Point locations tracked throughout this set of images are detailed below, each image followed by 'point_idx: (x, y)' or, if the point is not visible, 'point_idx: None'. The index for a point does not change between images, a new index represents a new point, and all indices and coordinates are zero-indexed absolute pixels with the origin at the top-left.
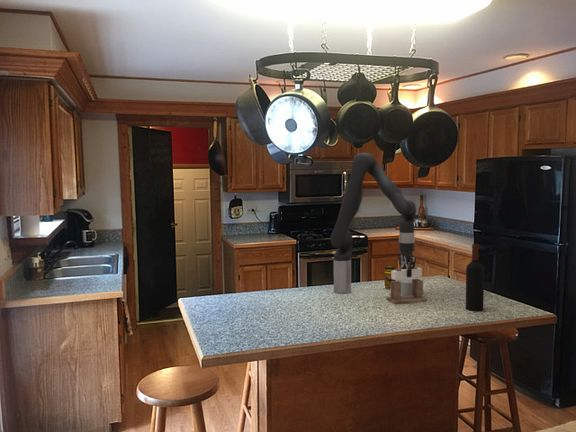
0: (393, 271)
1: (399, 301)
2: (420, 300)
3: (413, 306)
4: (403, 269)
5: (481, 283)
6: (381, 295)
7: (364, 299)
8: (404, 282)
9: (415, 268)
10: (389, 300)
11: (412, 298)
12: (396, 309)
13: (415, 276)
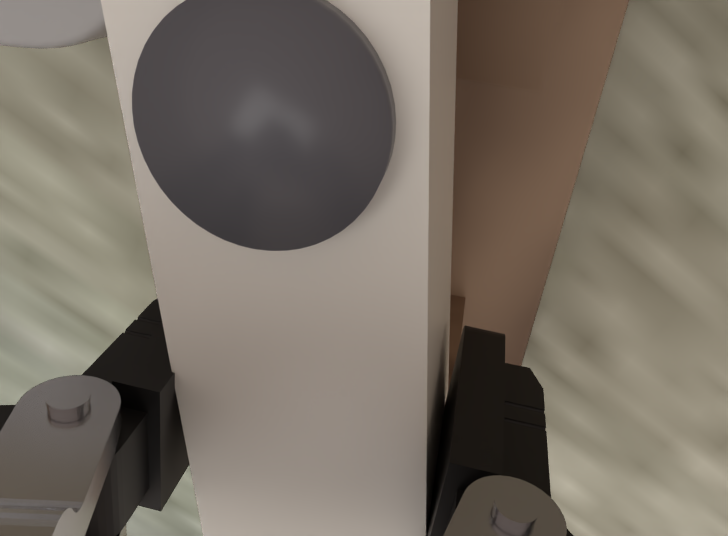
0: None
1: (515, 359)
2: (615, 39)
3: (718, 281)
4: (234, 512)
5: None
6: (87, 263)
7: (182, 490)
8: (82, 40)
9: (380, 184)
10: None
11: (491, 111)
12: (673, 500)
13: (454, 130)
